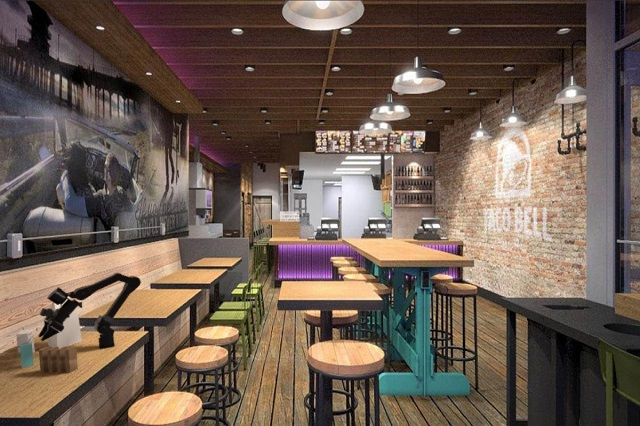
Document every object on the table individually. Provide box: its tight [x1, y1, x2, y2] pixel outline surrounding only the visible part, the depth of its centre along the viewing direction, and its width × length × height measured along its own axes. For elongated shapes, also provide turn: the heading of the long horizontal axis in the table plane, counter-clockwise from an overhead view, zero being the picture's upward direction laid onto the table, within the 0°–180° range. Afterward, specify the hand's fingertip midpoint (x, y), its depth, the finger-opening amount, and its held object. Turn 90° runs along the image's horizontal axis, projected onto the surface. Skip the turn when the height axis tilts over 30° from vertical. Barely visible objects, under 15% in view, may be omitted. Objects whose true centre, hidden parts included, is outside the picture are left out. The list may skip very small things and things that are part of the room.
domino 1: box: [20, 343, 34, 368], centre depth 191 cm, size 2×4×10 cm, turn 130°
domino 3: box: [47, 347, 60, 374], centre depth 183 cm, size 2×4×10 cm, turn 170°
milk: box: [47, 296, 83, 349], centre depth 223 cm, size 12×12×26 cm
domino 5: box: [65, 345, 79, 374], centre depth 181 cm, size 2×4×10 cm, turn 170°
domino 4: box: [56, 346, 69, 374], centre depth 182 cm, size 2×4×10 cm, turn 170°
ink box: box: [15, 328, 36, 359], centre depth 209 cm, size 8×5×12 cm, turn 19°
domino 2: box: [38, 346, 51, 374], centre depth 183 cm, size 2×4×10 cm, turn 170°
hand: (40, 338), depth 195 cm, fingers open, 9 cm apart
